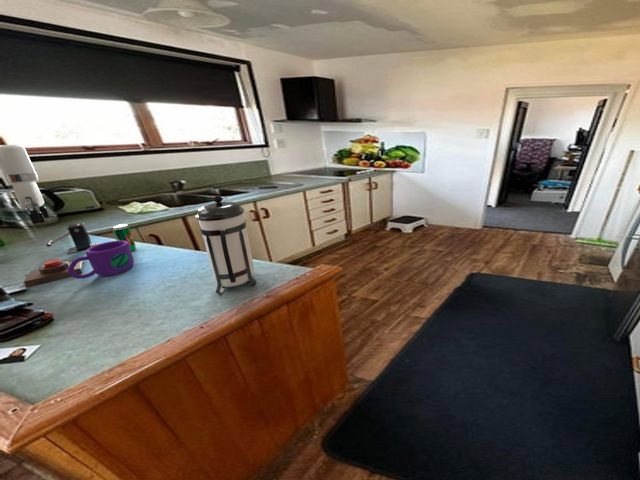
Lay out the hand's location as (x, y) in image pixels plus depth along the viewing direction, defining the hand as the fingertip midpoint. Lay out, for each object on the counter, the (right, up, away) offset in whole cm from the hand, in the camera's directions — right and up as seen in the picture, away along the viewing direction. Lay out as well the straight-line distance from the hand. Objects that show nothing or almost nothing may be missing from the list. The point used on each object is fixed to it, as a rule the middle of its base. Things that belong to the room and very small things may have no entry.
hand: (41, 220), depth 110 cm
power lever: (+2, -7, +7) cm, 10 cm away
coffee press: (+90, -22, -19) cm, 95 cm away
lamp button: (+19, -17, -11) cm, 28 cm away
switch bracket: (+5, -13, +12) cm, 18 cm away
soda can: (+28, -14, +8) cm, 32 cm away
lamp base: (+19, -20, -10) cm, 29 cm away
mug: (+37, -20, -11) cm, 44 cm away
